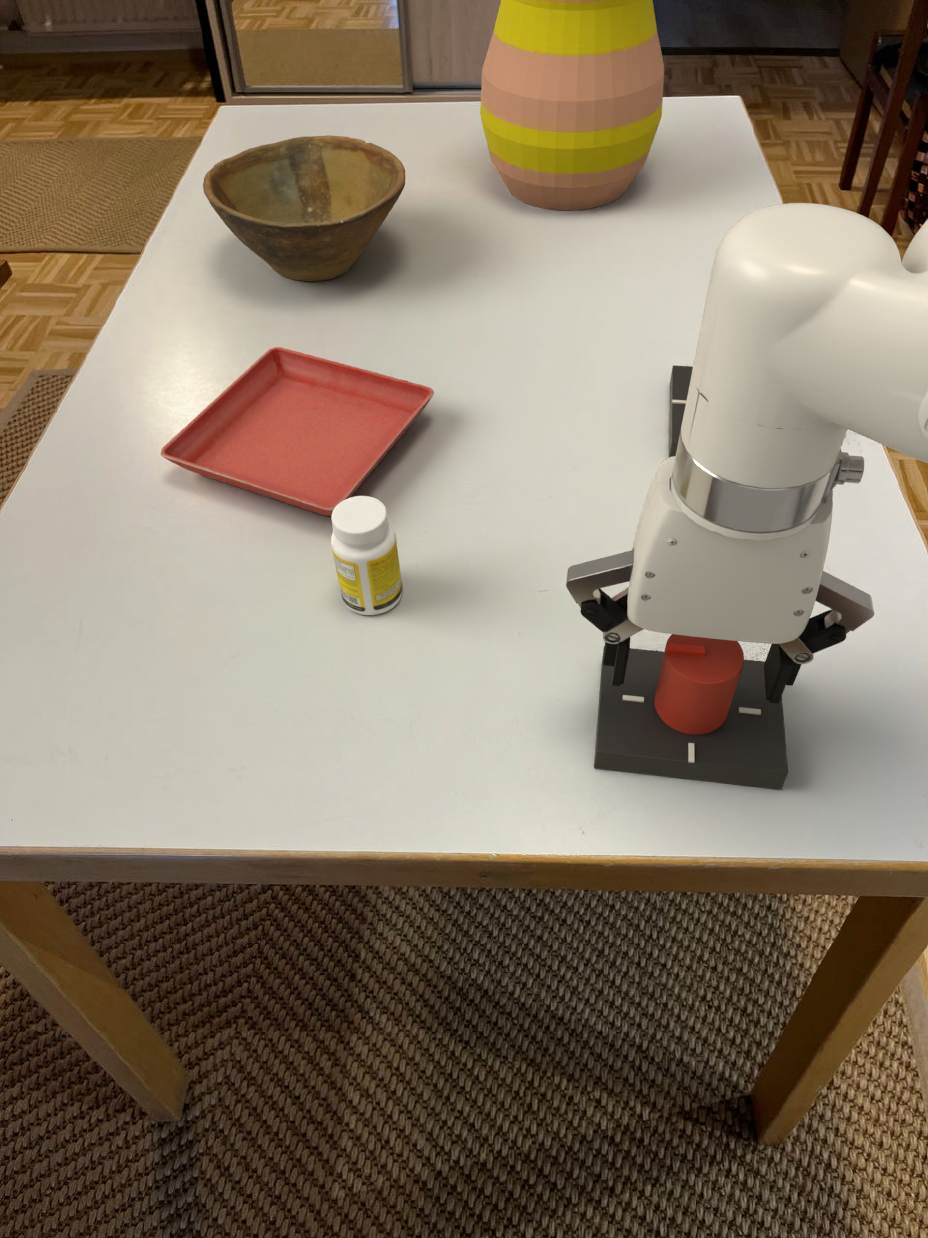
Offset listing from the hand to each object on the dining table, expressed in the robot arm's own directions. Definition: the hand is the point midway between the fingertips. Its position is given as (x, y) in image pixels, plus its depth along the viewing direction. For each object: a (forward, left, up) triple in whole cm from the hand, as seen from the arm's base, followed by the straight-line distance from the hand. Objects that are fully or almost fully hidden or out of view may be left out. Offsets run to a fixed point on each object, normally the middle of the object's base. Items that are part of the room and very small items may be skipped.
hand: (693, 677), depth 59 cm
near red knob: (0, 0, -3) cm, 3 cm away
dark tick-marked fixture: (0, 0, -5) cm, 5 cm away
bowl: (+42, -60, -5) cm, 73 cm away
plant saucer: (+34, -26, -5) cm, 43 cm away
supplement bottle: (+24, -9, -5) cm, 26 cm away
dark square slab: (-3, -34, -5) cm, 34 cm away
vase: (+15, -83, -5) cm, 84 cm away
